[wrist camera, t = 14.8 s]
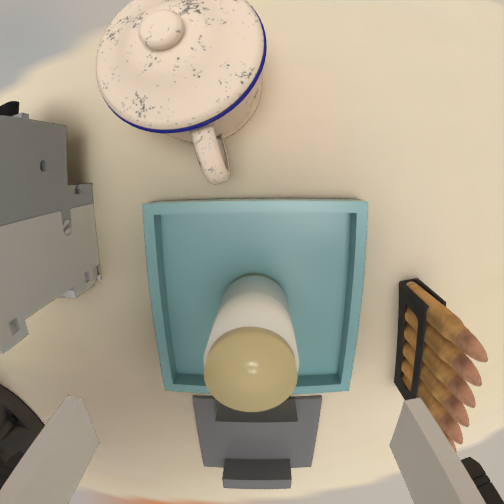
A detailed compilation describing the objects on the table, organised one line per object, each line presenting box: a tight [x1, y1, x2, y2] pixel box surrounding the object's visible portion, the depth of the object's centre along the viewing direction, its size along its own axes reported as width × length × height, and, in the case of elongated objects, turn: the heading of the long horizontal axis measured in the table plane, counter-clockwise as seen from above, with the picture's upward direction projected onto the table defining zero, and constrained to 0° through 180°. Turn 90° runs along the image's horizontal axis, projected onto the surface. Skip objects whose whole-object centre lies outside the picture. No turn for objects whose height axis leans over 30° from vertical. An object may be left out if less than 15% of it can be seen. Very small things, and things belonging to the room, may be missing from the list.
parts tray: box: [142, 198, 368, 394], centre depth 24 cm, size 16×16×2 cm
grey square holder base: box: [193, 396, 322, 489], centre depth 27 cm, size 12×11×4 cm
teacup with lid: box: [96, 0, 267, 185], centre depth 16 cm, size 12×9×12 cm
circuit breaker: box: [0, 101, 102, 354], centre depth 17 cm, size 8×14×15 cm, turn 2°
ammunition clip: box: [394, 278, 488, 454], centre depth 20 cm, size 11×2×12 cm, turn 8°
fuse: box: [204, 273, 299, 412], centre depth 20 cm, size 5×5×10 cm
